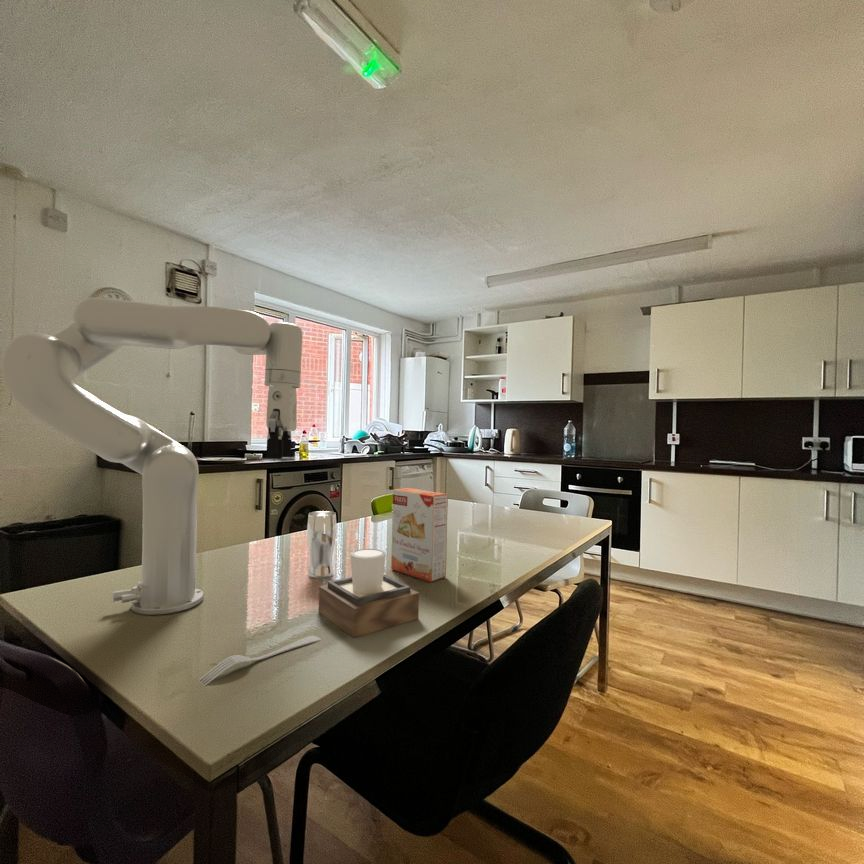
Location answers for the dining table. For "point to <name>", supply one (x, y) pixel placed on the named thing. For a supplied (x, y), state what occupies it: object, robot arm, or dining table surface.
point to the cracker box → (419, 533)
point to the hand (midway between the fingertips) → (279, 457)
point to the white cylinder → (367, 570)
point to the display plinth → (368, 606)
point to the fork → (239, 658)
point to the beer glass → (321, 543)
